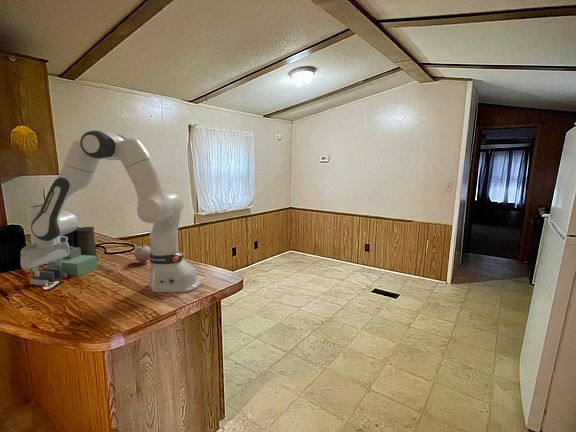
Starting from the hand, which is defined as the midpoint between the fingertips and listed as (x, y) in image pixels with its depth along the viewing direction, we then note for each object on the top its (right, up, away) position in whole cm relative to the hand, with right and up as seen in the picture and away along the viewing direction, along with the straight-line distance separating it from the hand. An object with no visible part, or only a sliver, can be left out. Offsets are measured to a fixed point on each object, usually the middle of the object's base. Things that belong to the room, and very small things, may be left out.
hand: (48, 272), depth 137 cm
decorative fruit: (+30, 0, +27) cm, 40 cm away
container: (0, 0, +27) cm, 27 cm away
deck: (+1, -3, +7) cm, 8 cm away
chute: (0, -4, +1) cm, 4 cm away
